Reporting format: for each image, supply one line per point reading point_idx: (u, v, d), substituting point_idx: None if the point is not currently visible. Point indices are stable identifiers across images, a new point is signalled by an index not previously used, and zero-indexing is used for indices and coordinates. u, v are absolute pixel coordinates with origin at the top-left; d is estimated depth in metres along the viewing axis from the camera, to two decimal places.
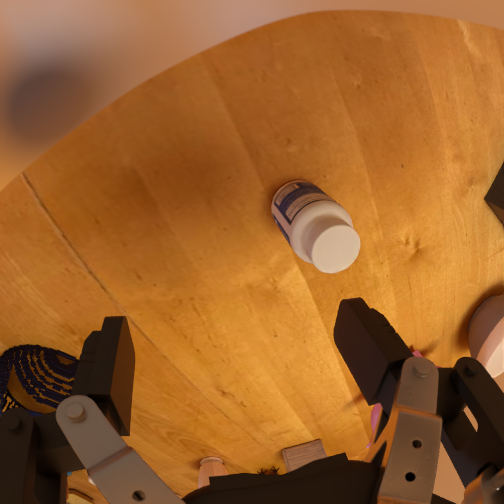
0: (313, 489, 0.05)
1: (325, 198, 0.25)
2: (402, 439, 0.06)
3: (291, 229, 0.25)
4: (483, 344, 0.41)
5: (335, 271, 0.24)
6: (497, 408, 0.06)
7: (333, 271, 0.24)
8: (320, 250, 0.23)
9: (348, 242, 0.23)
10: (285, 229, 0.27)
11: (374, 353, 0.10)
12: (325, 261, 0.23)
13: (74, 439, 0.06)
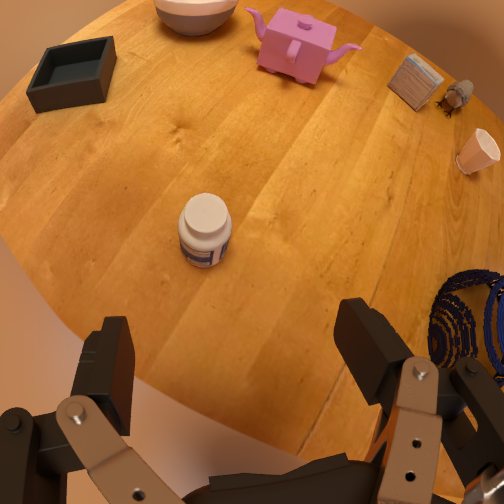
0: (314, 489, 0.05)
1: (180, 238, 0.32)
2: (402, 439, 0.06)
3: (215, 248, 0.31)
4: (214, 13, 0.43)
5: (221, 201, 0.30)
6: (497, 408, 0.06)
7: (222, 202, 0.30)
8: (213, 224, 0.29)
9: (195, 207, 0.29)
10: (220, 250, 0.33)
11: (374, 353, 0.10)
12: (218, 214, 0.29)
13: (74, 439, 0.06)
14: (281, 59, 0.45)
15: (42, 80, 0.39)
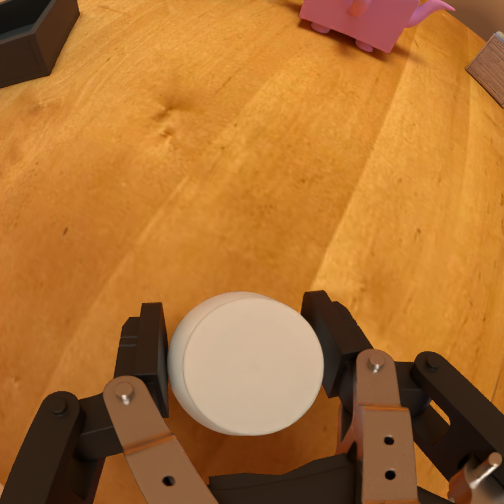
0: (314, 489, 0.05)
1: None
2: (373, 439, 0.06)
3: None
4: None
5: (304, 325, 0.09)
6: (468, 400, 0.07)
7: (307, 330, 0.09)
8: (281, 406, 0.08)
9: (218, 354, 0.08)
10: None
11: (330, 344, 0.10)
12: (297, 372, 0.09)
13: (125, 418, 0.07)
14: (340, 10, 0.25)
15: None
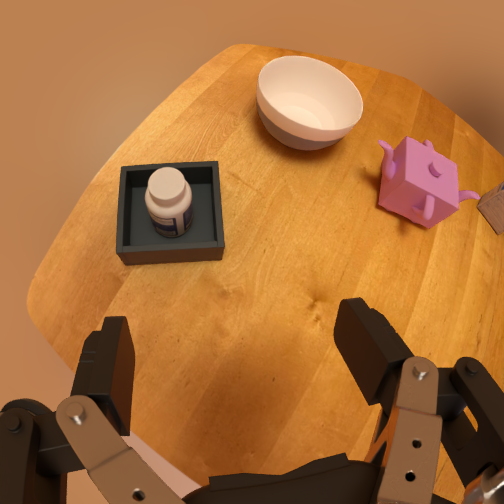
0: (314, 489, 0.05)
1: None
2: (402, 439, 0.06)
3: (176, 215, 0.35)
4: (338, 138, 0.43)
5: (180, 173, 0.33)
6: (497, 408, 0.06)
7: (180, 174, 0.33)
8: (171, 192, 0.33)
9: (157, 179, 0.33)
10: (181, 218, 0.37)
11: (374, 353, 0.10)
12: (177, 184, 0.33)
13: (74, 439, 0.06)
14: (406, 206, 0.45)
15: (127, 221, 0.39)
